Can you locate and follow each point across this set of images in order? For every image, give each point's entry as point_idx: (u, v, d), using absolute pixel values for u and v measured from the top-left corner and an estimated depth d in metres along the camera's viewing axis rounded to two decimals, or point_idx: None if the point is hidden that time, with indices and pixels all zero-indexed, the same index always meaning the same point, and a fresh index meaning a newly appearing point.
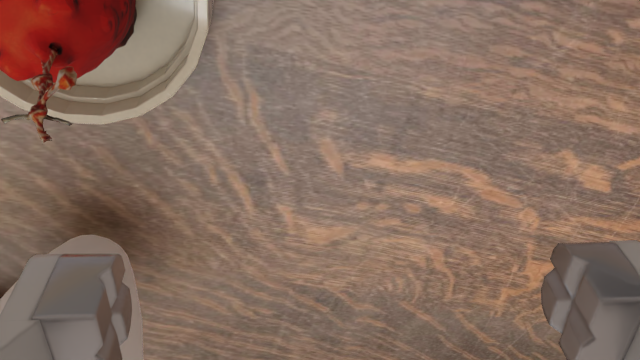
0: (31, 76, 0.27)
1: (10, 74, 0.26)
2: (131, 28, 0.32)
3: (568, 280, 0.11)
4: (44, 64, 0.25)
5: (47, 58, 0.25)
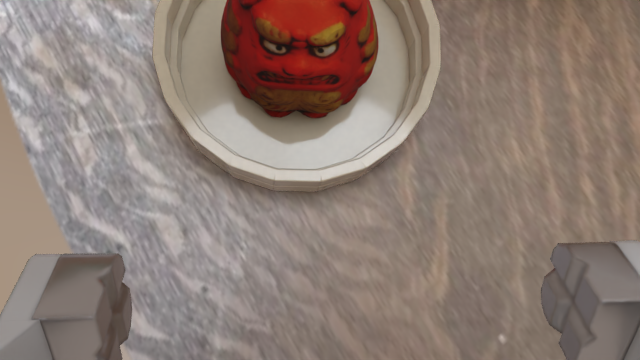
0: None
1: None
2: None
3: (568, 280, 0.11)
4: None
5: None
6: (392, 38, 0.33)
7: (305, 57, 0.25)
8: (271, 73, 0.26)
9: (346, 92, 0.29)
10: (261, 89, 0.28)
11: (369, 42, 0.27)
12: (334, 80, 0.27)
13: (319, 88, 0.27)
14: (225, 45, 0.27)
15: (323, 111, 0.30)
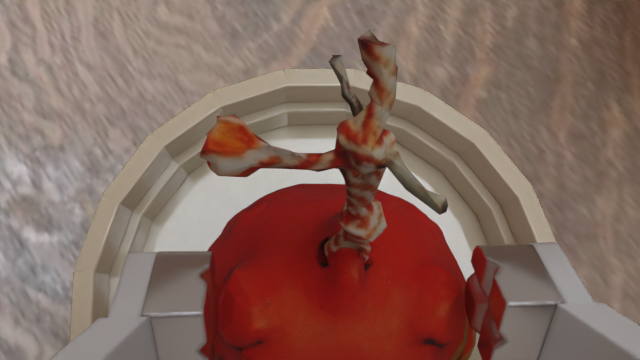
0: (429, 262, 0.12)
1: (450, 297, 0.12)
2: None
3: (484, 283, 0.11)
4: (358, 248, 0.11)
5: (344, 251, 0.11)
6: (470, 251, 0.21)
7: None
8: None
9: None
10: None
11: (466, 352, 0.14)
12: None
13: None
14: None
15: None
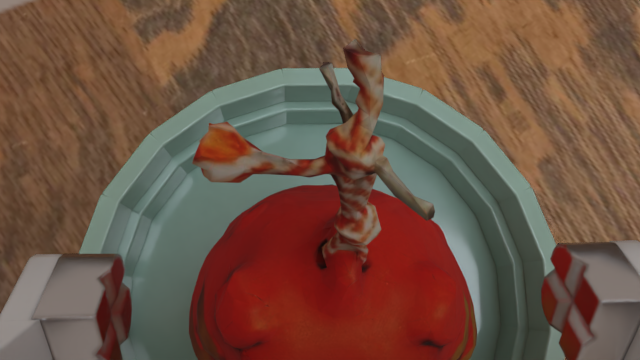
0: (427, 264, 0.12)
1: (448, 299, 0.12)
2: None
3: (568, 280, 0.11)
4: (355, 251, 0.11)
5: (342, 254, 0.11)
6: None
7: None
8: None
9: None
10: None
11: (466, 353, 0.14)
12: None
13: None
14: None
15: None
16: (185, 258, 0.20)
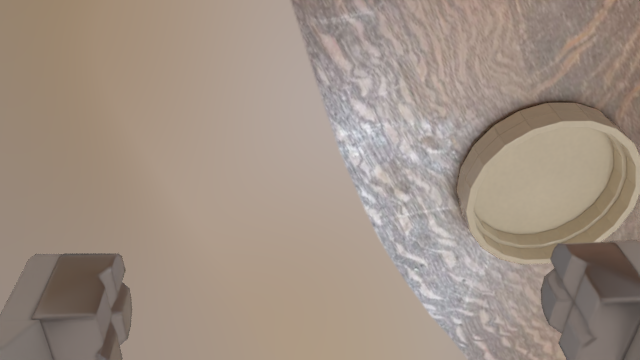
0: None
1: None
2: None
3: (568, 280, 0.11)
4: None
5: None
6: (605, 160, 0.50)
7: None
8: None
9: None
10: None
11: None
12: None
13: None
14: None
15: None
16: None
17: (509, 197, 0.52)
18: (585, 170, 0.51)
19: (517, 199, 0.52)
